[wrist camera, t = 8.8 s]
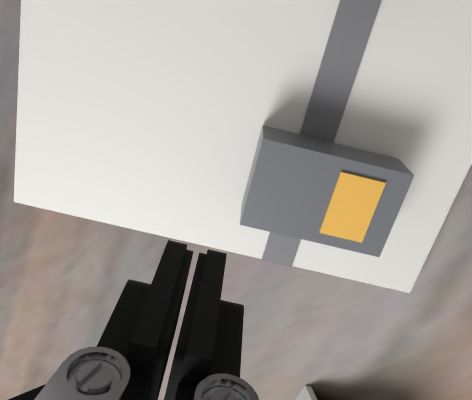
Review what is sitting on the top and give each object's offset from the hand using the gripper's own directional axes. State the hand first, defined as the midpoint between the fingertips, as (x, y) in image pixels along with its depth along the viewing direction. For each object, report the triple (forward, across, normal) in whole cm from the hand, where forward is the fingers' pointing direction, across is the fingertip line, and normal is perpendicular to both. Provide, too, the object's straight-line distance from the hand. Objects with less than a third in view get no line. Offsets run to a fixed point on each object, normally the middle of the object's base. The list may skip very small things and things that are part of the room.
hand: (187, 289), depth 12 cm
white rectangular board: (+16, -1, -3) cm, 16 cm away
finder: (+14, -6, +1) cm, 15 cm away
